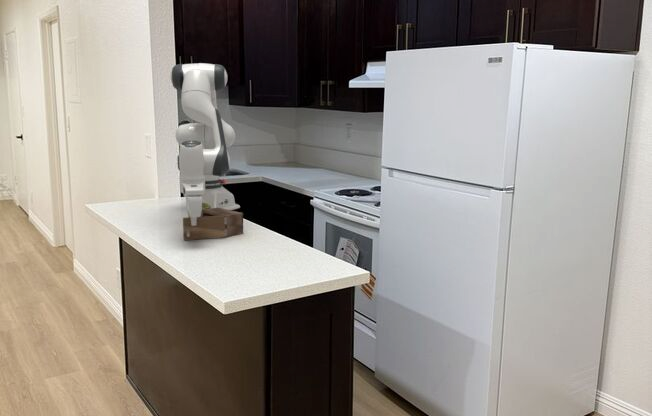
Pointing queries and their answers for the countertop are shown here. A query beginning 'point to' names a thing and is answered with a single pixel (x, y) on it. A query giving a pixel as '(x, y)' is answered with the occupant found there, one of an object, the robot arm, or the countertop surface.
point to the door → (205, 227)
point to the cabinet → (228, 219)
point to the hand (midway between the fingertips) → (193, 225)
